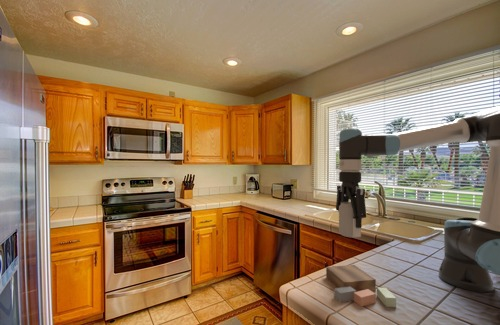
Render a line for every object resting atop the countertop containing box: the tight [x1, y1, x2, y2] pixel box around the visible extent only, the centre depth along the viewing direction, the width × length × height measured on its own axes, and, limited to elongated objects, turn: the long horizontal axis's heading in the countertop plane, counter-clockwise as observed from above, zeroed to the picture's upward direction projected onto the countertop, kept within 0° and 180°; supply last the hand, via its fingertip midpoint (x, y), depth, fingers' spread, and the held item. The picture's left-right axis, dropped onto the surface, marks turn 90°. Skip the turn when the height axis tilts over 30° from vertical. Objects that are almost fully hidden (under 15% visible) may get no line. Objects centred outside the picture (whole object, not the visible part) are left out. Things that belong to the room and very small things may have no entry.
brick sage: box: [376, 286, 397, 308], centre depth 75 cm, size 6×3×3 cm, turn 176°
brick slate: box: [333, 286, 356, 303], centre depth 76 cm, size 6×3×3 cm, turn 107°
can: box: [338, 201, 358, 238], centre depth 86 cm, size 8×8×12 cm
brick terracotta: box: [353, 289, 377, 307], centre depth 74 cm, size 6×3×3 cm, turn 111°
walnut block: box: [325, 264, 377, 292], centre depth 86 cm, size 12×12×4 cm
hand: (349, 233), depth 86 cm, fingers closed on can, 7 cm apart
